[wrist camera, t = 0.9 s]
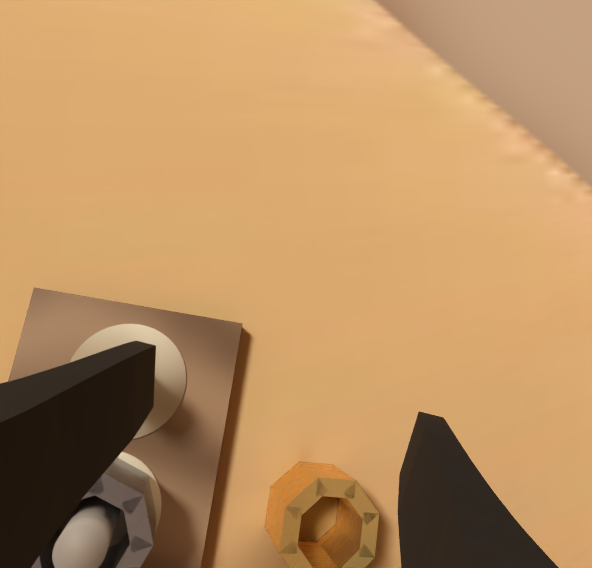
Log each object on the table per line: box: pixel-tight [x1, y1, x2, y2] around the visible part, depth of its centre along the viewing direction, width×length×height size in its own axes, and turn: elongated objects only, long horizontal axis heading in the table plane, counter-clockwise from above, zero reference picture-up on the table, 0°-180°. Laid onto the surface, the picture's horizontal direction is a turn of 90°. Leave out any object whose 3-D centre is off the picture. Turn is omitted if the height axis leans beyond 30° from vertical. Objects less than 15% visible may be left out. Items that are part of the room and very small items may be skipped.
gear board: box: [8, 288, 242, 568], centre depth 21 cm, size 14×11×6 cm
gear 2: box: [265, 462, 379, 568], centre depth 24 cm, size 5×5×4 cm
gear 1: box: [31, 457, 157, 568], centre depth 20 cm, size 5×5×4 cm
